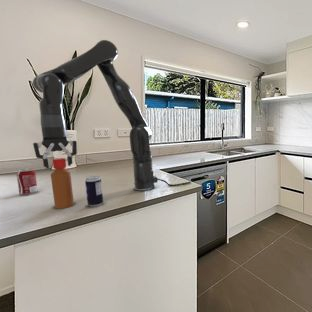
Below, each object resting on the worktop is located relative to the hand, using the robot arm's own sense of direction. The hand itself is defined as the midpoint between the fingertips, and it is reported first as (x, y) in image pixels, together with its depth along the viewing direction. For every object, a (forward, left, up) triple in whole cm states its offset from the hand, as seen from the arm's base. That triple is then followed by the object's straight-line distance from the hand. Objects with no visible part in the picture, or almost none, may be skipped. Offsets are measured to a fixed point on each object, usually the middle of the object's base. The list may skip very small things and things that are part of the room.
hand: (58, 166), depth 91 cm
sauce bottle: (0, 0, -17) cm, 17 cm away
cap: (0, 0, 0) cm, 1 cm away
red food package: (+19, -29, -17) cm, 38 cm away
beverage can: (-12, +5, -17) cm, 21 cm away
